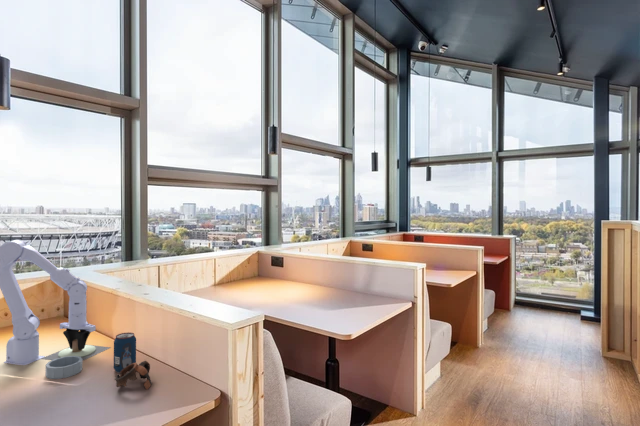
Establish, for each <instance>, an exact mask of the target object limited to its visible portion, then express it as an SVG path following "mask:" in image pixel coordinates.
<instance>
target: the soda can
mask: <svg viewBox="0 0 640 426" xmlns="http://www.w3.org/2000/svg"><path fill="white" fill-rule="evenodd" d="M132 363H137V338H136V336H135V333H134V332H121V333H118V334H117V335H115V339H114V340H113V370H114V371H115V372H116V373H118V374H121V373H120V372H121V371H122V370H123V369H124V368H126V367H127V366H129V365H130V364H132Z"/></svg>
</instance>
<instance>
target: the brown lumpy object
mask: <svg viewBox="0 0 640 426" xmlns="http://www.w3.org/2000/svg"><path fill="white" fill-rule="evenodd" d="M150 369H151V364H150V363H149V362H148V361H146V360H144V361H141V362H140V363H139V364H138V363H137V362H136V363H132V364H130V365H129V366H127V367H126V368H124V369H123V370H122V371H121V372H120V373H118V374H116V376H115V378H114V381H115V382H116V383H115V386H116V387H117V388H119V387H123V386H124V387H127V384H128V383H127V382H128V380H129V381H136V380H138V376H137V373H138V375H139V377H140V380H141V379H142V380H146V381H145V382H144V383H143V386H144V388H145V390H146V391H147V390H149V388H150V387H151V386H152V383H153V382H152V380H151V377H150V375H149V373H150V371H151V370H150Z"/></svg>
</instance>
